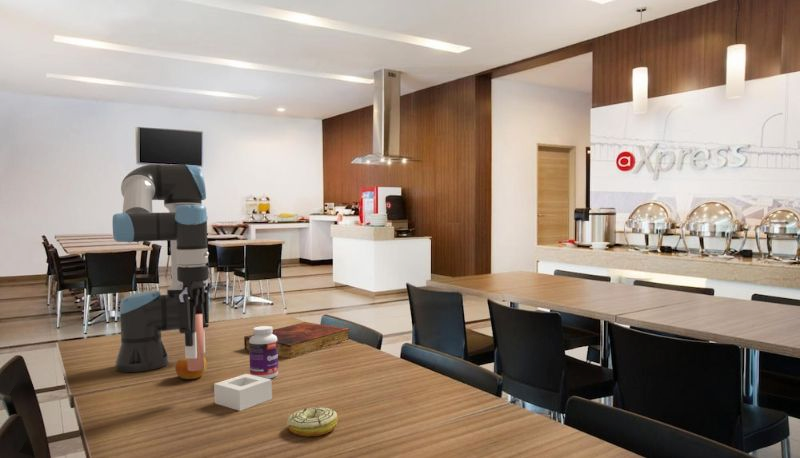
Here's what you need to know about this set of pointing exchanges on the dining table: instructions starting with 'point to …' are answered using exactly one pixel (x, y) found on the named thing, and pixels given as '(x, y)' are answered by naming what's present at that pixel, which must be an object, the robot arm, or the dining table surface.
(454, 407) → the dining table surface
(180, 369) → the fruit
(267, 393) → the socket block
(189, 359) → the peg
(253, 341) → the pill bottle
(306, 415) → the decorated donut
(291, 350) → the book
